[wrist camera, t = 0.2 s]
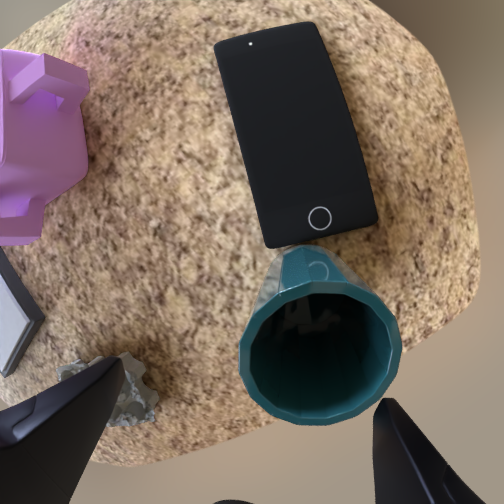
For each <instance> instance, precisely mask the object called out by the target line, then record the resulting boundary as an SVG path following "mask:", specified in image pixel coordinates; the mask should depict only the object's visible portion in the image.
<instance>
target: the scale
mask: <svg viewBox="0 0 504 504" xmlns="http://www.w3.org/2000/svg"><path fill="white" fill-rule="evenodd" d="M45 318H46V317H45V315H44V314H43V313H42V311H41V310H40V308H39V307H38V306H37V304H36V303H35V301H34V300H33V298H32V297H31V295H30V294H29V292H28V291H27V289H26V288H25V286H24V285H23V283H22V282H21V280H20V278H19V277H18V275H17V274H16V272H15V270H14V269H13V267H12V265H11V264H10V262H9V260H8V259H7V257H6V255H5V253H4V252H3V250H2V248H1V246H0V373H1V374H2V376H3V377H4V378H6V377H8V376H9V375H11V374H12V373H13V372H14V371H15V369H16V367H17V365H18V363H19V361H20V360H21V358H22V356H23V354H24V353H25V351H26V349H27V347H28V346H29V344H30V342H31V340H32V339H33V337H34V335H35V334H36V332H37V331H38V329H39V327H40V326H41V324H42V322H43V321H44V319H45Z"/></svg>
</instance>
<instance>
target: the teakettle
mask: <svg viewBox="0 0 504 504" xmlns="http://www.w3.org/2000/svg"><path fill="white" fill-rule="evenodd" d="M89 91H90V87H89V82H88V76H87V70H84V69H82V68H80V67H77V66H75V65H73V64H70V63H68V62H65V61H63V60H60V59H58V58H55V57H53V56H50V55H48V54H45V53H43V54H42V55H37V54H33V53H28V52H23V51H16V50H8V49H0V246H11V245H28V244H30V243H32V242H33V241H35V240H37V239H38V238H40V237H41V233H42V225H43V217H44V210H45V205H46V204H48V203H49V202H51V201H52V200H54V199H55V198H57V197H58V196H60V195H61V194H62V193H64V192H65V191H67V190H68V189H70V188H71V187H72V186H74V185H75V184H77V183H78V182H79V181H80V180H82V179H83V178H84V177H85V176H86V174H87V172H88V154H87V146H86V138H85V131H84V125H83V119H82V114H81V109H80V104H81V102H82V101H83V99H84V98H85V96H86V95H87V93H88V92H89Z"/></svg>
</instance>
